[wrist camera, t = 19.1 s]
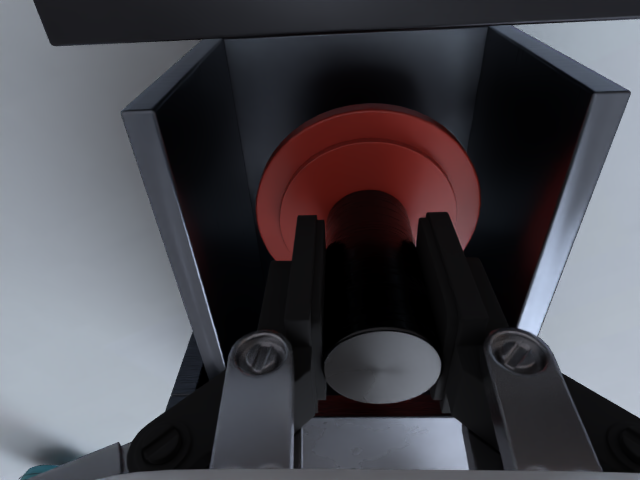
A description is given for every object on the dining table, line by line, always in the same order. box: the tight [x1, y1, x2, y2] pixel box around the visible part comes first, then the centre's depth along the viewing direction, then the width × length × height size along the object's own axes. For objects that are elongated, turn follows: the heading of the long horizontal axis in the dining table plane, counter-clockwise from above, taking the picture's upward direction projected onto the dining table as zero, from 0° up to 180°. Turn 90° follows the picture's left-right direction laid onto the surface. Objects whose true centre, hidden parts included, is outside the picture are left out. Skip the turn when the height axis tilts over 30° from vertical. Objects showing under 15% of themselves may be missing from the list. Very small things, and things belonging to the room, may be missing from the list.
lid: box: [256, 103, 481, 404], centre depth 12 cm, size 7×7×6 cm
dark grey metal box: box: [165, 332, 469, 470], centre depth 24 cm, size 17×14×11 cm
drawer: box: [33, 0, 640, 395], centre depth 14 cm, size 22×13×9 cm, turn 3°
